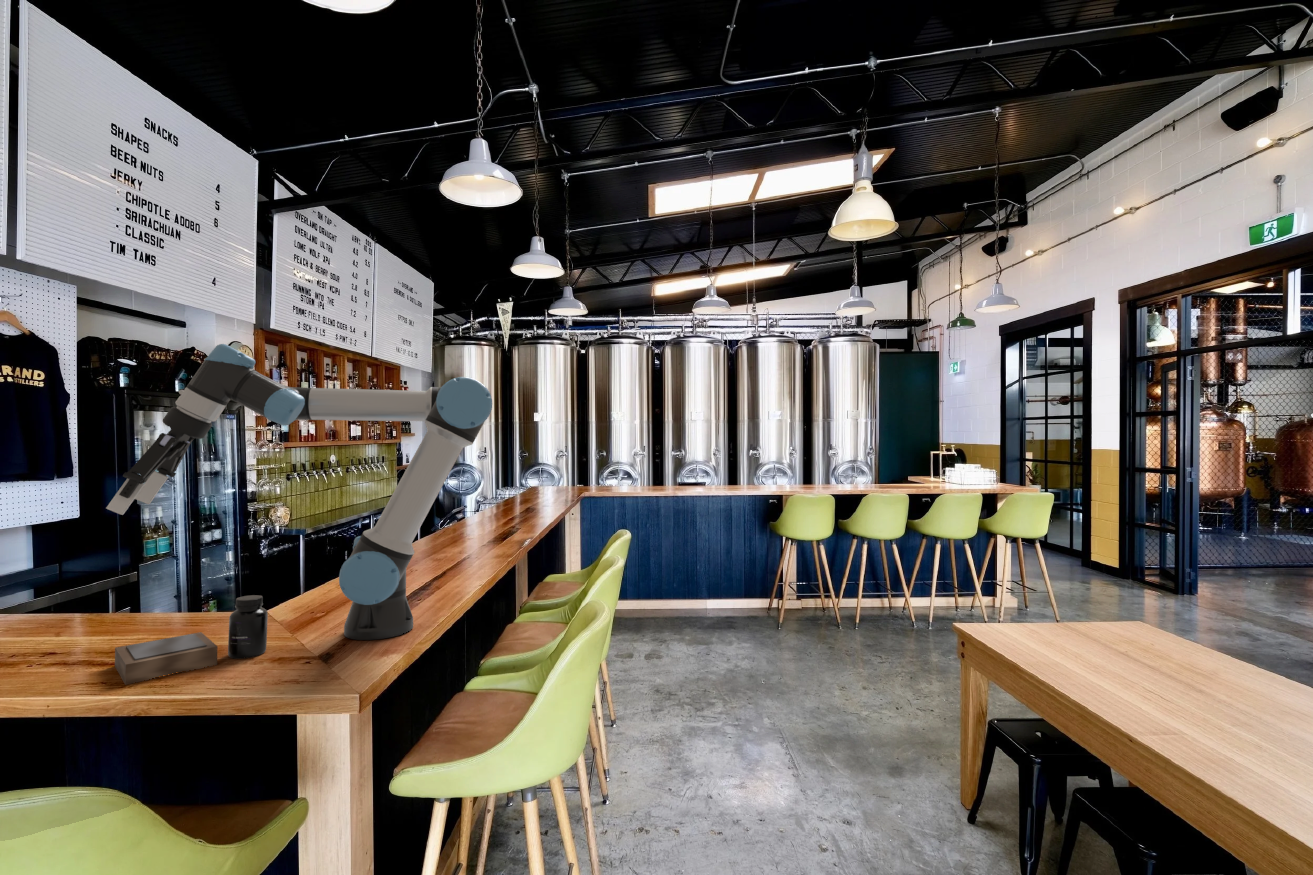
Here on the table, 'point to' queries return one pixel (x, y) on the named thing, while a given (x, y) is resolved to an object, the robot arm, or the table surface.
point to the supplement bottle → (248, 628)
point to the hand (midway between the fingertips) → (128, 506)
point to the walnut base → (164, 657)
